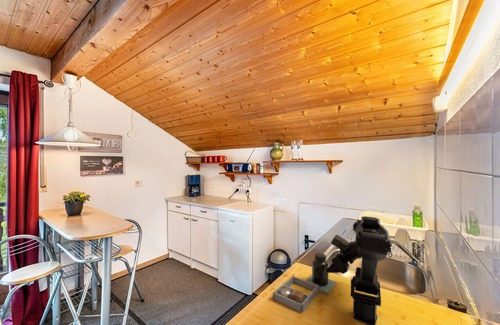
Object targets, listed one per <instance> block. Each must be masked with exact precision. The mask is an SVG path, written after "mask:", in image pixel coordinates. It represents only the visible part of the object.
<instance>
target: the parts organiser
mask: <svg viewBox="0 0 500 325" xmlns="http://www.w3.org/2000/svg"><path fill="white" fill-rule="evenodd" d="M293 284H295V285H297V286H300V287H304V288H306V289H308V290H311V292H310V293H309V294H307V293H305V300H304V301H303V302H302V303H298V302H296V301H294V300H292V299H289V298H287V297H285V296H282V295H281V289H282V288H288V289H290V290H291V293H292V292H293V291H294V290H295V289H296V288H295V289H294V288H293V287H291V286H292V285H293ZM319 292H320V291H319V285H317V284H314V283H311V282H308V281H306V279H303V278H300V277H297V276H295V275H292V276H291V277H290V278H288V280H286V281H285V282H284V283H282V284H281V286H279V287H278V288H276V290H274V291H273V292H272V300H273V301H275V302H277V303H279V304H281V305H284V306H286V307H289V308H291V309H293V310H296V311H297V312H299V313H304V311H305V310H306V309H307V307H308V306H309V305H310V304H311V303H312V301H313V300H314V299H315V297H317V295H318V294H319Z"/></svg>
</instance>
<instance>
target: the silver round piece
mask: <svg viewBox="0 0 500 325" xmlns="http://www.w3.org/2000/svg"><path fill="white" fill-rule="evenodd" d="M281 295H282V296H285V297H287V298H289V299H290V297H291V290H290V289H288V288H282V289H281Z"/></svg>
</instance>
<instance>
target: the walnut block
mask: <svg viewBox="0 0 500 325" xmlns="http://www.w3.org/2000/svg"><path fill="white" fill-rule="evenodd" d="M305 294H306V292H304V291H303V290H302V291H301V290H299V289H297V288H295V290H294V291H293V292H292V293H291V297H290V299H292V300H294V301H296V302H298V303H302V302H303V301H304V300H305Z"/></svg>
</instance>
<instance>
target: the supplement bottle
mask: <svg viewBox="0 0 500 325" xmlns="http://www.w3.org/2000/svg"><path fill="white" fill-rule="evenodd" d="M311 262H312V263H311V274H312V282H313V283H314V284H317V285H319V286H326V285H327V284H328V279H329V273H327V272H326V270H327V268H328V267H329V263H328V261H327V255H326V254H325V253H321V252H319V253H317V252H316V253H314V258H313V260H312V261H311Z"/></svg>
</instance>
